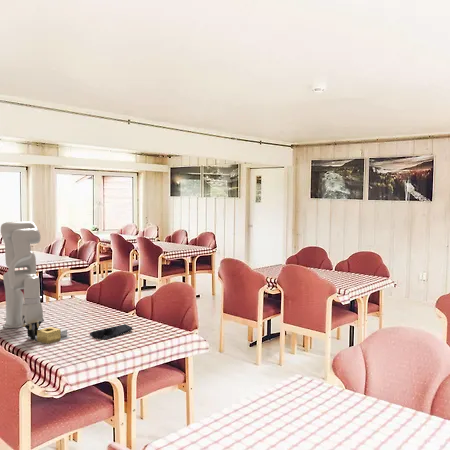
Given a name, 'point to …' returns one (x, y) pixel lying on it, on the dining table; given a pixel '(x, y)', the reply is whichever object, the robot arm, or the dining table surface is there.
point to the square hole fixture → (50, 335)
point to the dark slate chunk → (110, 332)
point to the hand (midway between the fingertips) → (32, 335)
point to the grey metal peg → (33, 331)
